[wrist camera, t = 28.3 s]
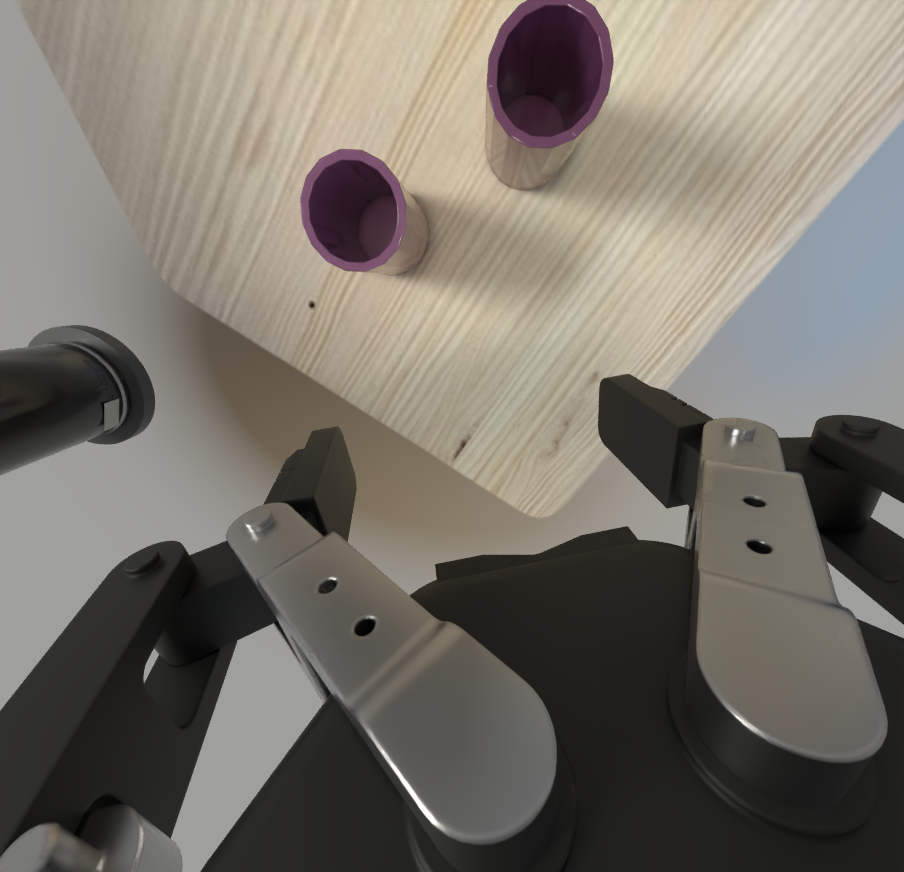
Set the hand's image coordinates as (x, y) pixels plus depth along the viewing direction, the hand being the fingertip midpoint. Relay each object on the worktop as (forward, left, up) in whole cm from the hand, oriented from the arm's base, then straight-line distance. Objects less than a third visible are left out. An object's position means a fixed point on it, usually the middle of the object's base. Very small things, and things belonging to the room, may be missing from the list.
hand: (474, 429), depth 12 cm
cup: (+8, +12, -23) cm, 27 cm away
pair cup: (-4, +10, -23) cm, 26 cm away
